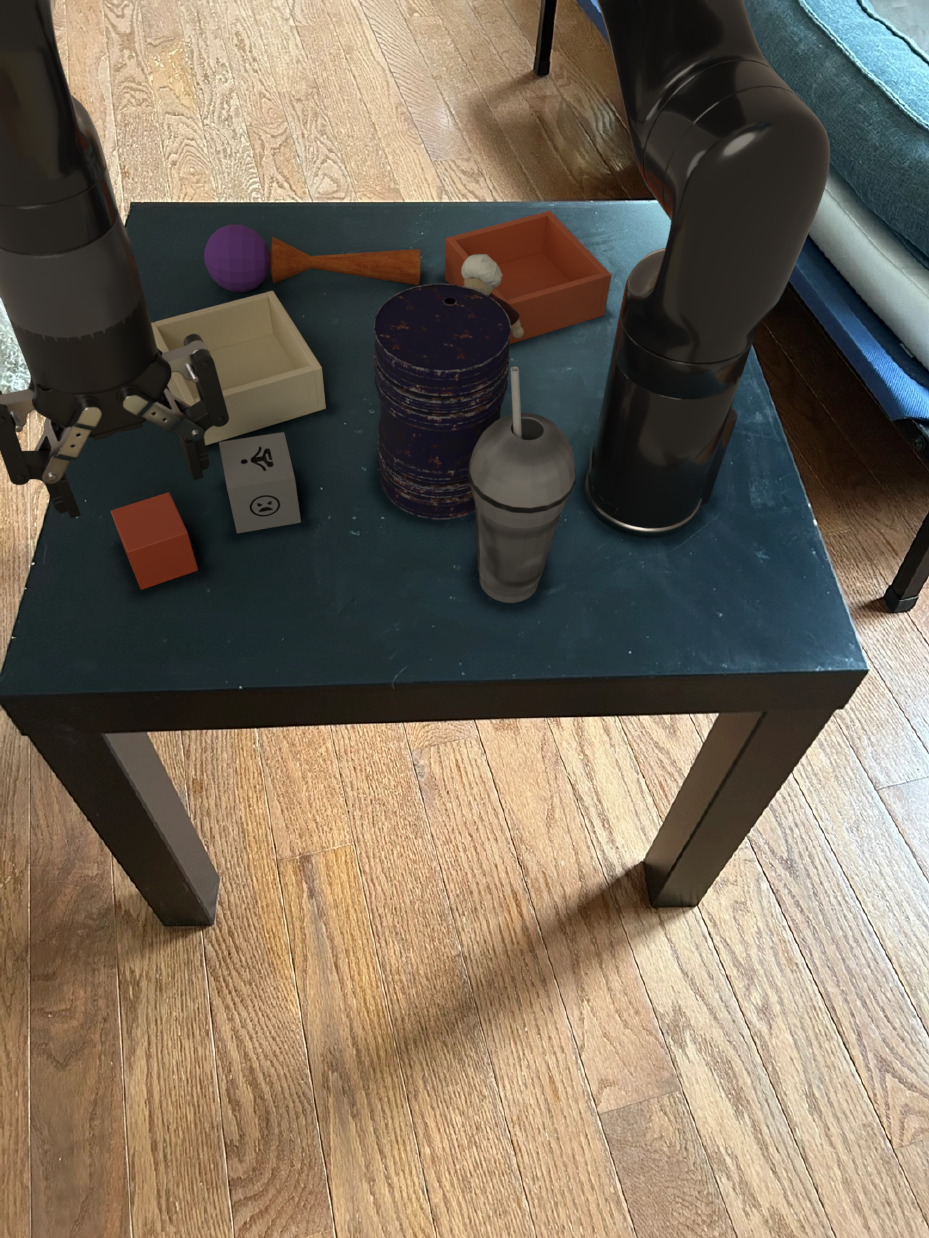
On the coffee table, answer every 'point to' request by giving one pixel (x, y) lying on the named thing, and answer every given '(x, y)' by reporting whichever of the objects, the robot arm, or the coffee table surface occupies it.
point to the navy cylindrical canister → (437, 392)
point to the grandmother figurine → (489, 285)
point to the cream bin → (248, 363)
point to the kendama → (295, 261)
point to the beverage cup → (518, 498)
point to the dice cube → (260, 482)
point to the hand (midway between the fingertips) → (135, 489)
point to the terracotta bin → (536, 271)
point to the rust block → (155, 540)
